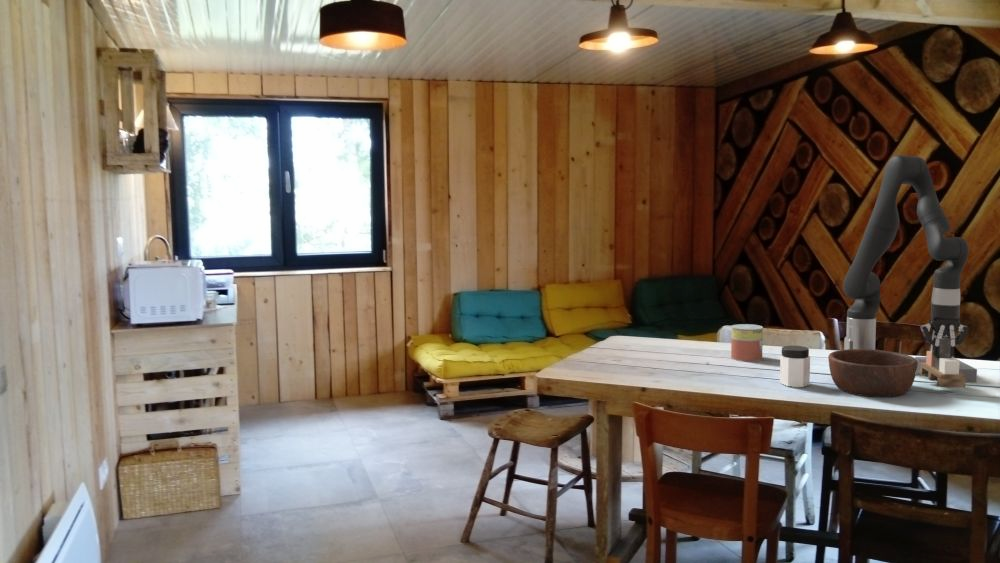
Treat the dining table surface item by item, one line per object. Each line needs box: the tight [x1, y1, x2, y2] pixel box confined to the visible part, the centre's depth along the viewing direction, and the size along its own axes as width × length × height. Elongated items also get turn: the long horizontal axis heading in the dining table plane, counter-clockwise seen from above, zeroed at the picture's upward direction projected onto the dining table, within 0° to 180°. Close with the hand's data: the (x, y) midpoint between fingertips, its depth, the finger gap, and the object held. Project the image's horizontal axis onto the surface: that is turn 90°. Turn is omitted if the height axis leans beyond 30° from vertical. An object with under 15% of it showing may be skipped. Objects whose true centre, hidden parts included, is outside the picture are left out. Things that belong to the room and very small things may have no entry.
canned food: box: [730, 323, 764, 363], centre depth 282 cm, size 11×11×12 cm
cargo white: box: [939, 357, 961, 375], centre depth 228 cm, size 4×4×4 cm
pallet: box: [918, 335, 966, 388], centre depth 233 cm, size 7×16×14 cm, turn 171°
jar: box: [779, 345, 811, 388], centre depth 243 cm, size 9×8×12 cm
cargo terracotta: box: [925, 350, 935, 366], centre depth 238 cm, size 4×4×4 cm
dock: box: [914, 356, 978, 383], centre depth 251 cm, size 12×18×4 cm, turn 171°
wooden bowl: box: [828, 349, 918, 398], centre depth 236 cm, size 25×25×10 cm
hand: (942, 357), depth 233 cm, fingers closed on pallet, 3 cm apart
